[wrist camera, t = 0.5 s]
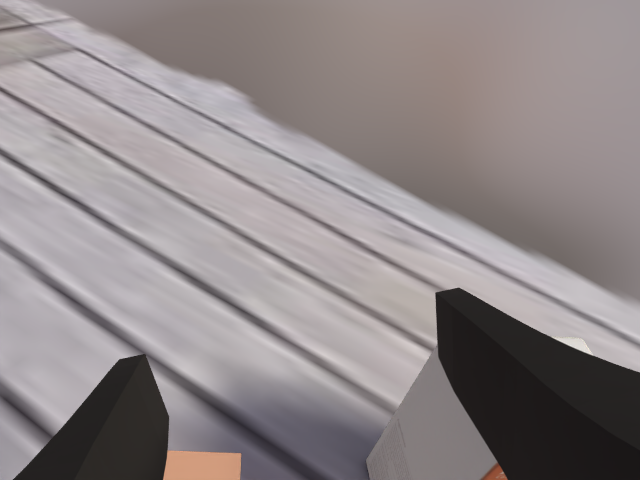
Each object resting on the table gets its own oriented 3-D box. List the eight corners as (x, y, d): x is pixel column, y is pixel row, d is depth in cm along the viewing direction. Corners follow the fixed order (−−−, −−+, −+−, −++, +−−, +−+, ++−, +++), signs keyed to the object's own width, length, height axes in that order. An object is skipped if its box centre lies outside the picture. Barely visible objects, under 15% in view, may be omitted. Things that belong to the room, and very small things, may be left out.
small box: (388, 575, 26) (496, 463, 18) (363, 459, 31) (440, 329, 23) (516, 560, 28) (665, 454, 20) (474, 453, 33) (581, 333, 25)
